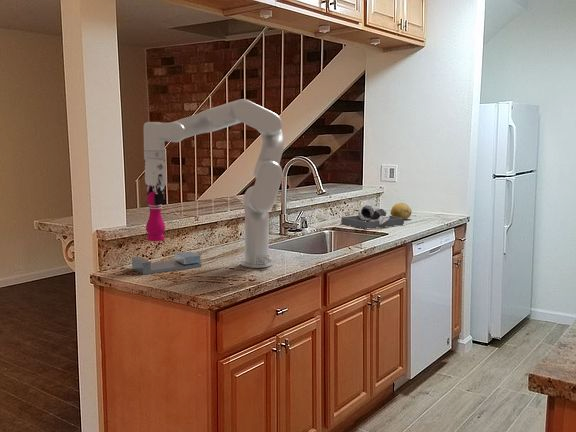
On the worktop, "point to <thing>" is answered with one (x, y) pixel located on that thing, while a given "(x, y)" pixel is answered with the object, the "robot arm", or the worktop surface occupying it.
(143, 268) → the vise
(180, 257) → the jaw
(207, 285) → the worktop surface
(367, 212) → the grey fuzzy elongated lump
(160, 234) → the pepper mill
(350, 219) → the bucket tray
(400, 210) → the potato
